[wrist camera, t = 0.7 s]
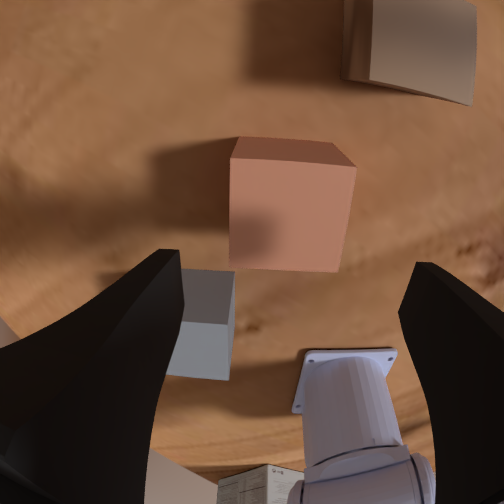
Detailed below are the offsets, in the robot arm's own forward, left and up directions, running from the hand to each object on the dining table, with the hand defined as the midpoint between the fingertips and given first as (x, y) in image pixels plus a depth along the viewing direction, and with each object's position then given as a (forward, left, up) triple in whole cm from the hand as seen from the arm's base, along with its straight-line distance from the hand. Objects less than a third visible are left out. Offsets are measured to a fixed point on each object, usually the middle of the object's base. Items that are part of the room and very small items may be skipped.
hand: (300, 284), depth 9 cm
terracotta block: (0, 0, -10) cm, 10 cm away
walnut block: (+9, -5, -10) cm, 14 cm away
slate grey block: (-9, +5, -10) cm, 14 cm away
